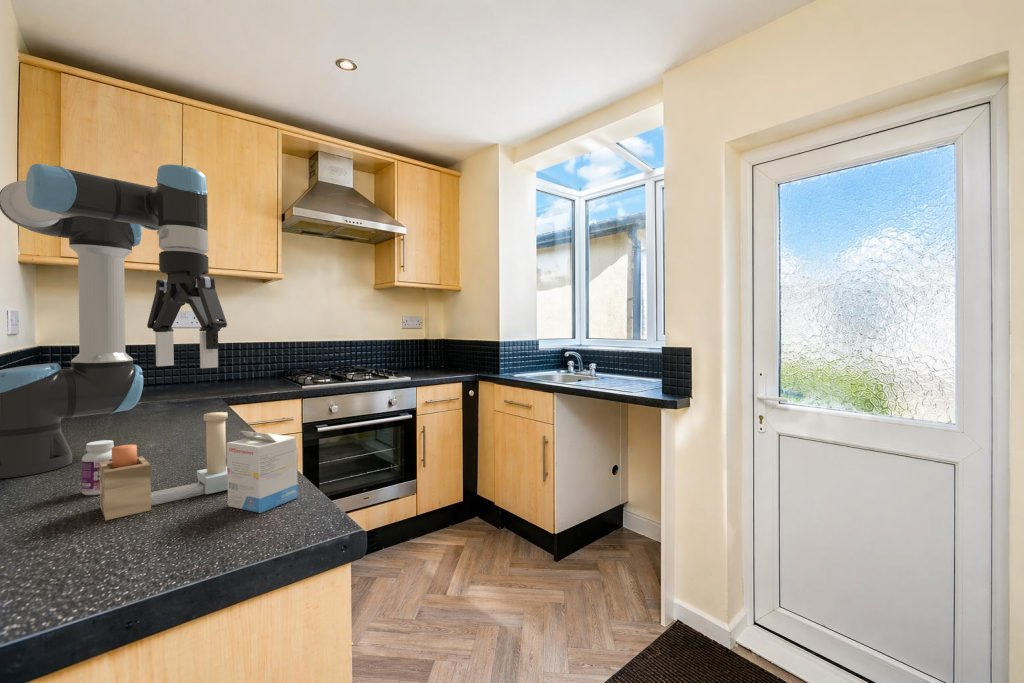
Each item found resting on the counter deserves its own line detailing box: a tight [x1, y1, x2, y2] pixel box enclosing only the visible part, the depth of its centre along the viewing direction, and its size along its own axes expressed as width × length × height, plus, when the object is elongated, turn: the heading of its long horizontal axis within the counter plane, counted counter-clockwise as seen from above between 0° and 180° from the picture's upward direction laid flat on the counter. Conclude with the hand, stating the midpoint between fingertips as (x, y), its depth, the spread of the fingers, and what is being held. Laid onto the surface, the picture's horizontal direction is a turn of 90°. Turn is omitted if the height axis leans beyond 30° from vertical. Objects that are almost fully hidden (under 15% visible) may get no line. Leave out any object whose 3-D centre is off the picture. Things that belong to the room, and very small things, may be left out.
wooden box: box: [99, 455, 152, 521], centre depth 82 cm, size 8×6×8 cm
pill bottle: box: [81, 439, 115, 496], centre depth 90 cm, size 5×5×10 cm
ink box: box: [226, 430, 299, 514], centre depth 85 cm, size 9×8×13 cm
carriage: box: [196, 411, 228, 495], centre depth 92 cm, size 7×5×15 cm
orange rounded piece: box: [112, 444, 138, 469], centre depth 81 cm, size 3×3×4 cm
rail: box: [151, 482, 206, 507], centre depth 89 cm, size 6×15×3 cm, turn 137°
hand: (186, 366), depth 86 cm, fingers open, 13 cm apart
